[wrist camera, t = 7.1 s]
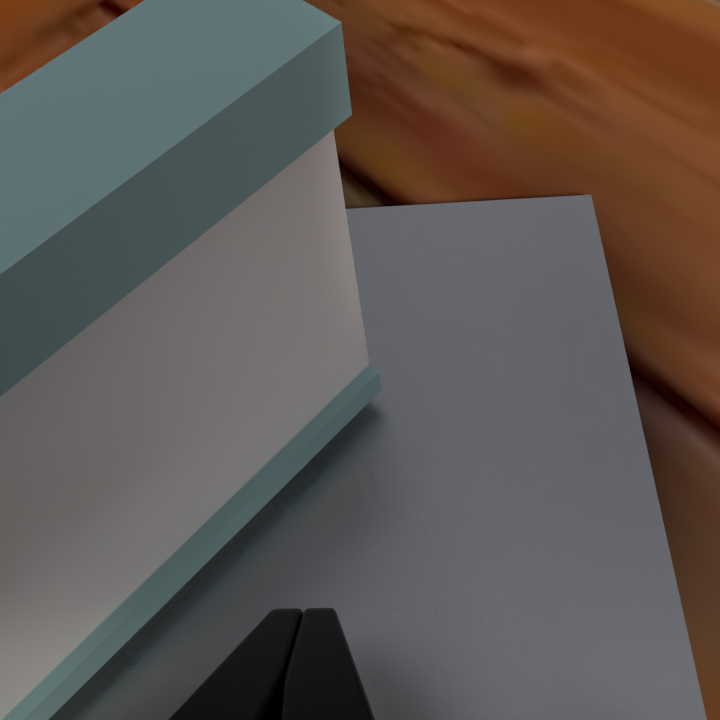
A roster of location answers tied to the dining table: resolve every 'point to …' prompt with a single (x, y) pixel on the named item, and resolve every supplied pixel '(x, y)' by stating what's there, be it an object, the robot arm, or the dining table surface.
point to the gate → (163, 315)
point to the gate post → (459, 497)
